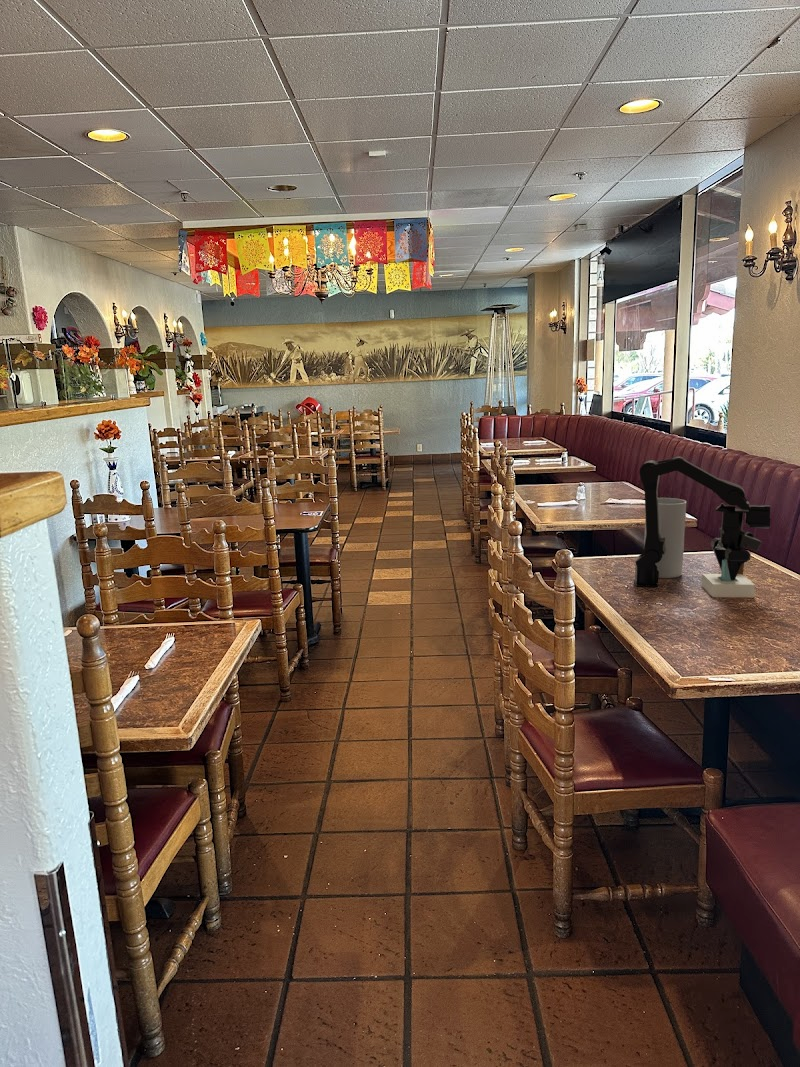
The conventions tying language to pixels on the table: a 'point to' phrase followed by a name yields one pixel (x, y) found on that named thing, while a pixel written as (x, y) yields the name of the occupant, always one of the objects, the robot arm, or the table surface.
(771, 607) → the table surface
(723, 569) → the peg
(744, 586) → the socket block
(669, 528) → the cylinder vase
